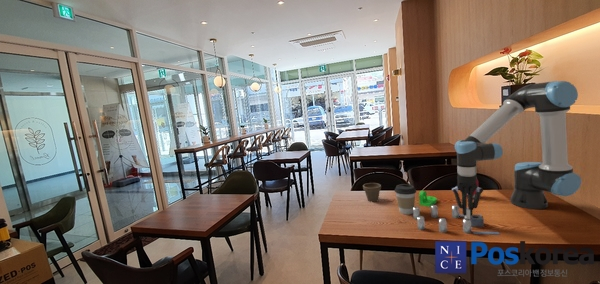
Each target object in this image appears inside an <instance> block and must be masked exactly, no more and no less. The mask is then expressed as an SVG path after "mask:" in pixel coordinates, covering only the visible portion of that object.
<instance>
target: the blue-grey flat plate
mask: <svg viewBox="0 0 600 284" xmlns="http://www.w3.org/2000/svg"><path fill="white" fill-rule="evenodd" d="M479 215H480V216H481V217H482V218H483V215H482V214H479ZM459 216H460V217H459V218H465V216H464V215H463V214H459ZM471 233H472V234H473V235H488V236H489V235H490V236H491V235H493V236H495V235H498V236H500V235H501V233H500V232H499V231H478V230H477V231H473V230H471Z"/></svg>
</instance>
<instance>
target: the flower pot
mask: <svg viewBox="0 0 600 284" xmlns="http://www.w3.org/2000/svg"><path fill="white" fill-rule="evenodd" d="M362 189H363V191H364V193H365V196H366V198H367V201H369V202H371V201H372V202H377V201H379V199H380V197H379V196H380V192H381V190H382V184H380V183H377V182H369V183H364V184H363V185H362Z"/></svg>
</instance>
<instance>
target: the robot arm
mask: <svg viewBox="0 0 600 284" xmlns="http://www.w3.org/2000/svg"><path fill="white" fill-rule="evenodd" d="M578 94H579V93H578V90H577V87H576V86H575V85H574V84H572V83H571V82H569V81H568V80H567V81H566V80H554V81H545V82H538V83H531V84H526V85H525V86H522V87H520V88H519V89H517V90H516V91H515V92H513V93H512V94H511V95H509V96H508V97H507V98H506V99H505V100H504V101H503V103H502V105H501V106H500V107H499V108H498V109H497V110H495V112H493V113H492V115H490V116H489V117H488V118H487V119H486V120H485V121H484V122H483V123H481V124H480V125H479V126H478V127H477V128H476V129H475V130H474V131H472V133H471V134H470V135H468V136H467V137H466V138H465V139H460V140H457V141H456V142H455V144H454V150H455V151H456V162H457V163H456V164H457V167H456V169H457V184H456V186H455V187H451V191H452V192H453V195H454V197H455V201H456V205H458V206H459V209H462V215H464V216H465V217H464V218H467V219H470V216H472V215H473V211H474V210H475V209H478V205H479V203H480V199H481V194H482V193H483V192H484V188H482V187H481V186H480V187H479V185H478V186H477V184H476V183H477V180H478V179H477V180H476V177H477V162H481V161H482V162H483V161H491V160H492V161H493V160H496V159H497V160H498V159H500V158H502V156H503V153H504V150H503V147H502V145H501V144H500V143H497V142H489V143H487V142H488V141H489V140H490V139H491V138H492V137H493V136H495V134H497V132H499V131H500V130H501V129H502V128H503V127H504V126H505V125H506V124H507V123H509V122H510V121H511V120H512V119H513V118H515V116H517V115H518V114H521V113H523V112H524V111H526V110H527V109H531V108H534V112H535V114H537V115H539V123H540V139H541V140H540V141H541V154H542V155H541V157H542V159H541V160H542V162H540V161H539V162H538V161H524V162H518V163H516V164H515V165H514V170H513V171H514V189H513V192H512V194H511V196H510V203H511V204H512V205H513V206H516V207H519V208H523V209H524V208H525V209H530V210H543V209H547V208H548V207H549V203H548V200H547V199H548V198H547V197H546V195H545V193H544V192H547V193H550V194H552V195H555V196H561V197H569V196H572V195H574V194H575V193H576V192H577V191H579V190H580V187H581V185H582V177H581V175H579V174H577V173H576V172H575V173H574V166H573V165H571V164H569V156H568V140H567V139H568V137H567V136H568V135H567V118H566V117H567V116H566V113H568V112H570V110H571V106H573V105H574V104H575V103H576V101H577V100H578V97H579V95H578ZM475 190H476V193H475V197H474V198H473V192H474V191H475ZM459 191H460V192H461V198H460V195H459V193H458V192H459ZM467 194H468V198H467V197H466V196H467Z"/></svg>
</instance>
